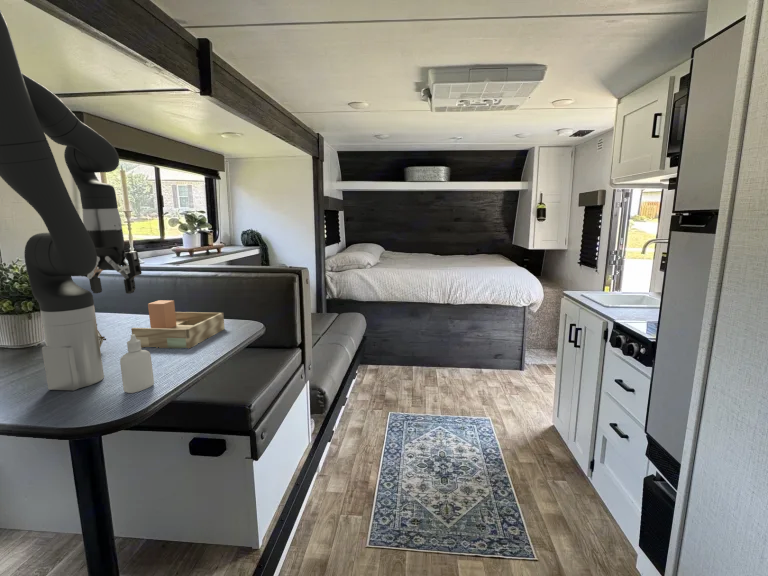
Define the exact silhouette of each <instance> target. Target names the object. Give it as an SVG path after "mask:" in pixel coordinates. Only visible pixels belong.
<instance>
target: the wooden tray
mask: <svg viewBox="0 0 768 576" xmlns="http://www.w3.org/2000/svg"><path fill="white" fill-rule="evenodd" d="M175 315H176V325H177V326H175V327H172V328H170V329H167V328H151V327H132V328H131V335H133V334H135V336H136V339H138V340H140V341H141V348H144V347H156V348H155V349H181V348H188V349H187V350H189V348H190V349H191V347H192V348H193V347H195V346H197V345H198V343H199V344H200V343H202V342H204V341H206V340H208V339H209V338H211V337H213V336H214V335H216V334H218V333H220V332H222V331H224V330H225V317H224V312H201V311H200V312H199V311H198V312H197V311H175ZM207 338H208V339H207ZM205 339H206V340H205ZM158 347H159V348H158Z"/></svg>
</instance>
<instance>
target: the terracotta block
mask: <svg viewBox="0 0 768 576" xmlns="http://www.w3.org/2000/svg"><path fill="white" fill-rule="evenodd" d="M175 305H176V304H175V300H172V299H171V300H169V299H167V300H165V299H164V300H161V299H160V300H159V299H158V300H156V301H153V302H149V303H147V307H148V316H149V325H150V327H149V328H167V329H170V328H172V327H175V326H177V325H176V315H175V312H176V307H175Z"/></svg>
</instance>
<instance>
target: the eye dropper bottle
mask: <svg viewBox="0 0 768 576" xmlns="http://www.w3.org/2000/svg"><path fill="white" fill-rule="evenodd" d="M126 346H127V352H126V353H125V354H123V355H122V356H121V357H120V359H119V362H120V363H119V364H120V372H121V380H122V386H123V387H122V388H123V391H124V392H125V393H126V394H134V393H138V392H141V391H144V390H147V389H149V388H151V387H152V386H154V384H155V380H154V372H153V371H154V369H153V361H152V356H151V352H150V351H148V350H146V349H142V347H141V341H140V340H138V339H136V336H135V334H133V335H132V334H130V339H129V340H128V341H127V342H126Z"/></svg>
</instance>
